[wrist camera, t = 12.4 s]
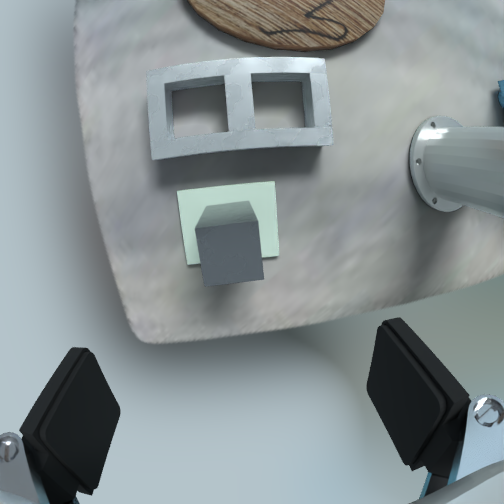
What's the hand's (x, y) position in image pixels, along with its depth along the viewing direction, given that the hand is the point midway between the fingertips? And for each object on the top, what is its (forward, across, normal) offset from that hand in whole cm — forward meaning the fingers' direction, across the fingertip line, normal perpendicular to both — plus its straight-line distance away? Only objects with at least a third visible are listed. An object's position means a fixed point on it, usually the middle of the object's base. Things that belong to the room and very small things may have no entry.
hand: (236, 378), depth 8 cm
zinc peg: (+23, 0, 0) cm, 23 cm away
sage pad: (+23, 0, 0) cm, 23 cm away
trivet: (+24, -9, -31) cm, 40 cm away
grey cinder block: (+23, -2, -12) cm, 26 cm away
